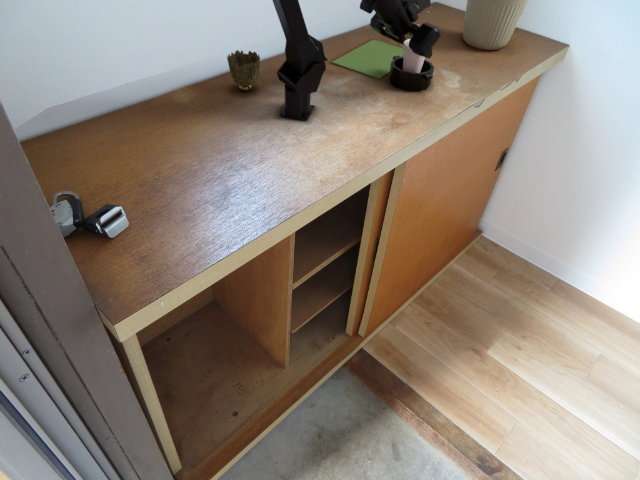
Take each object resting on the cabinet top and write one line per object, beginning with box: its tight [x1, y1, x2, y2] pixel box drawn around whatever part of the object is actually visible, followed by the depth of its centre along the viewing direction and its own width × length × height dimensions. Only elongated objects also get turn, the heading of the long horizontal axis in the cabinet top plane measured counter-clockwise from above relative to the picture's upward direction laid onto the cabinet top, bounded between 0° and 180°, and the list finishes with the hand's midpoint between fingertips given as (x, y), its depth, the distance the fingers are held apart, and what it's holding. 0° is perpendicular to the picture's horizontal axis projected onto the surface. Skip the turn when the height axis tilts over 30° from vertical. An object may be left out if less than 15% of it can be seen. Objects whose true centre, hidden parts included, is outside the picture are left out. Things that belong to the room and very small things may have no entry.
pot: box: [388, 55, 435, 92], centre depth 111 cm, size 10×13×4 cm
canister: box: [462, 0, 529, 51], centre depth 127 cm, size 18×18×21 cm
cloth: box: [331, 39, 404, 80], centre depth 123 cm, size 22×15×1 cm
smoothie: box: [402, 24, 426, 73], centre depth 108 cm, size 6×6×14 cm
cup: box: [226, 49, 261, 93], centre depth 103 cm, size 8×7×8 cm
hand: (417, 49), depth 108 cm, fingers open, 9 cm apart
